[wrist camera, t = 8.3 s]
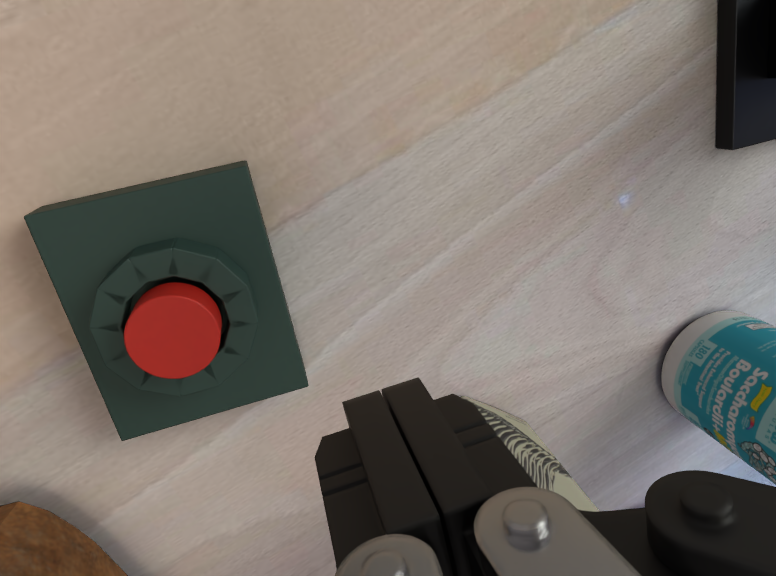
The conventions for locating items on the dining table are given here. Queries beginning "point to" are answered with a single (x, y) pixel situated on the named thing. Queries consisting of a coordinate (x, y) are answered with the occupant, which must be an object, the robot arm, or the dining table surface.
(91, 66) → the dining table surface
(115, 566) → the bread
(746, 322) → the pill bottle
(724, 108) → the bracket
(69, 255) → the button box
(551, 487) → the box
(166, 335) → the button
